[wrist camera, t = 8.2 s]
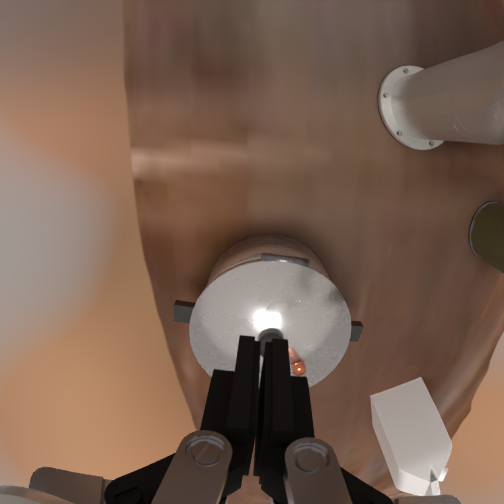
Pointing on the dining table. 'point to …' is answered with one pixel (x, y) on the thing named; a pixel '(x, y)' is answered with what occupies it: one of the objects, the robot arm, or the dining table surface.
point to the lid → (272, 315)
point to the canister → (488, 234)
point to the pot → (253, 251)
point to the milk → (411, 437)
